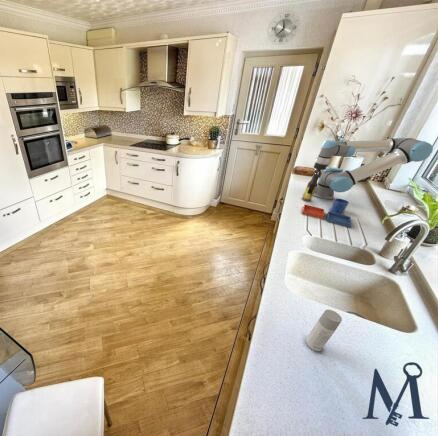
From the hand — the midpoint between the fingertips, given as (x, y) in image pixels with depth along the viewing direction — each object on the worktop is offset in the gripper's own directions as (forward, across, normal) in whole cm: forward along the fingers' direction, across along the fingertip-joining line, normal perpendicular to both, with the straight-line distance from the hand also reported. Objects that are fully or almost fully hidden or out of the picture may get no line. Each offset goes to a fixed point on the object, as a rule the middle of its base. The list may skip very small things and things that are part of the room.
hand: (309, 190), depth 176 cm
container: (+8, +135, +9) cm, 135 cm away
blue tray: (+8, +25, +20) cm, 33 cm away
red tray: (+8, +23, +5) cm, 25 cm away
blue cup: (+8, +11, +19) cm, 23 cm away
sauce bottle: (+8, 0, 0) cm, 8 cm away
